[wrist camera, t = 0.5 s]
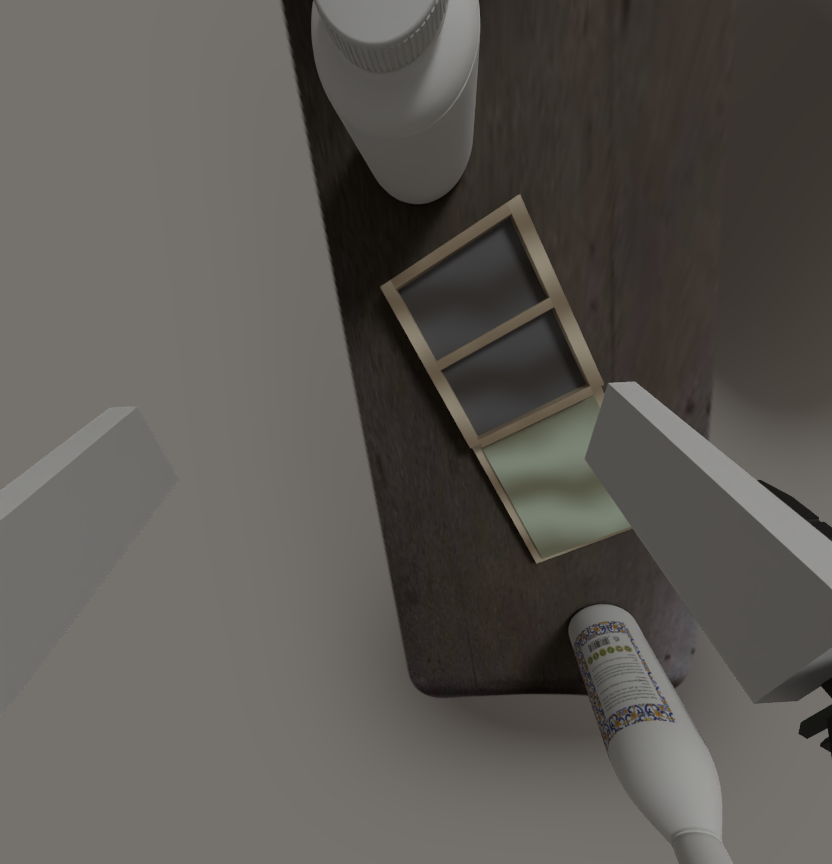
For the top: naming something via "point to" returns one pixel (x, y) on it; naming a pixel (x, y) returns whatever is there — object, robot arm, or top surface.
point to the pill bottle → (402, 86)
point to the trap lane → (513, 375)
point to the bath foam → (649, 734)
